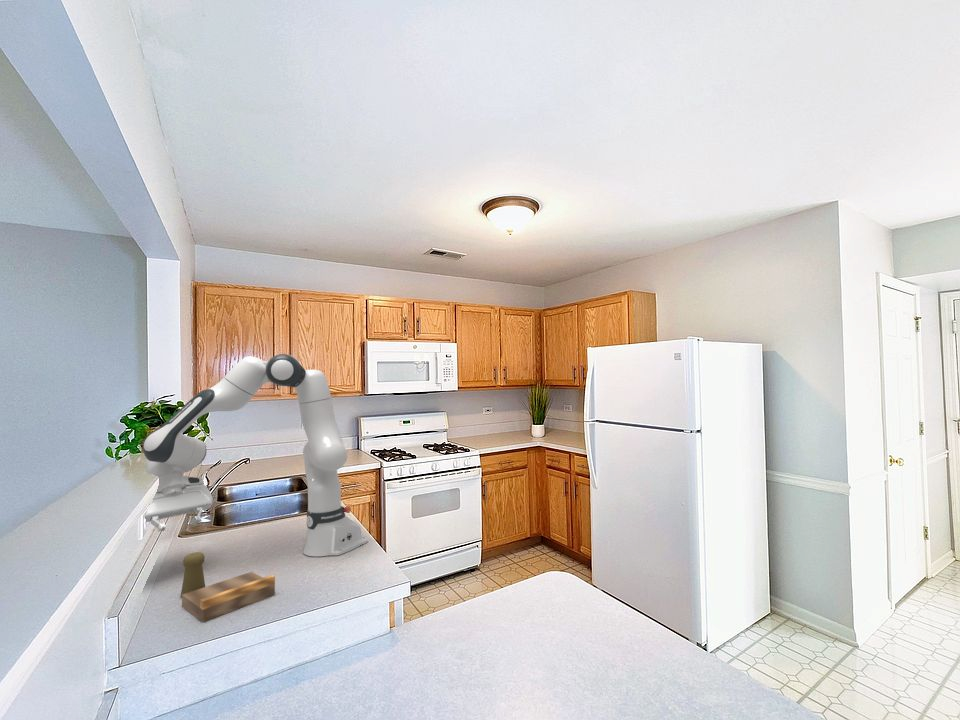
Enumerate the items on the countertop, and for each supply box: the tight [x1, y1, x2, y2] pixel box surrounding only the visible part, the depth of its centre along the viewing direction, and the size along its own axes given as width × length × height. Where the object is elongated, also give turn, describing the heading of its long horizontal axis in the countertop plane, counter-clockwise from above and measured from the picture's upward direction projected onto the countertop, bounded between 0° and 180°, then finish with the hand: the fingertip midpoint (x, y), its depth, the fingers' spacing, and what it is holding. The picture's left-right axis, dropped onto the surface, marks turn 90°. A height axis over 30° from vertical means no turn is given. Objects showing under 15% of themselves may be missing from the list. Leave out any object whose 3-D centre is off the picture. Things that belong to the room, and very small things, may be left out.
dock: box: [181, 571, 276, 623], centre depth 121 cm, size 18×14×5 cm
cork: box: [180, 551, 206, 599], centre depth 126 cm, size 6×6×11 cm
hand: (180, 526), depth 134 cm, fingers open, 8 cm apart
